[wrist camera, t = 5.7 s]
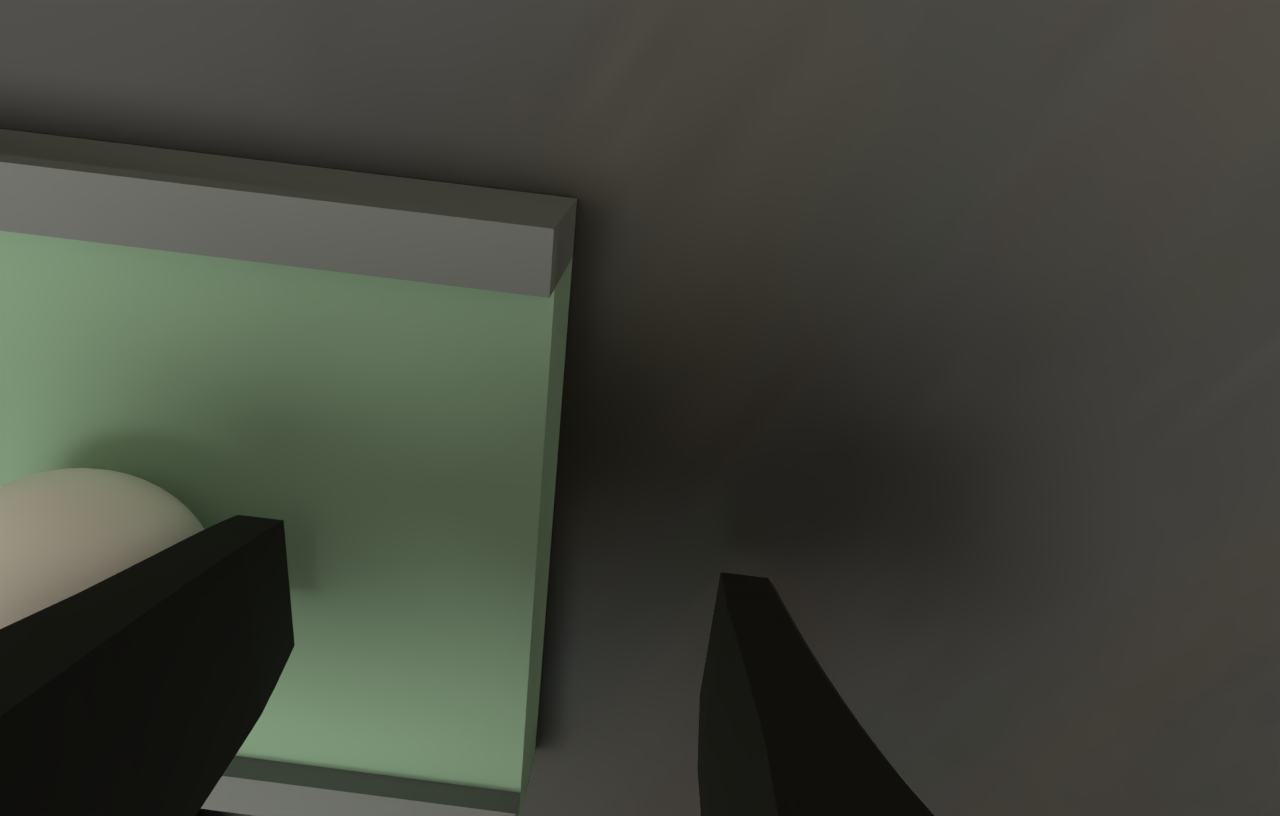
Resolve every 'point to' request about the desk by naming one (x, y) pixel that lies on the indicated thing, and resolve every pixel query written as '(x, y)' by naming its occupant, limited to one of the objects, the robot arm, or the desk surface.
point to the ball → (79, 533)
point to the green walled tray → (316, 433)
